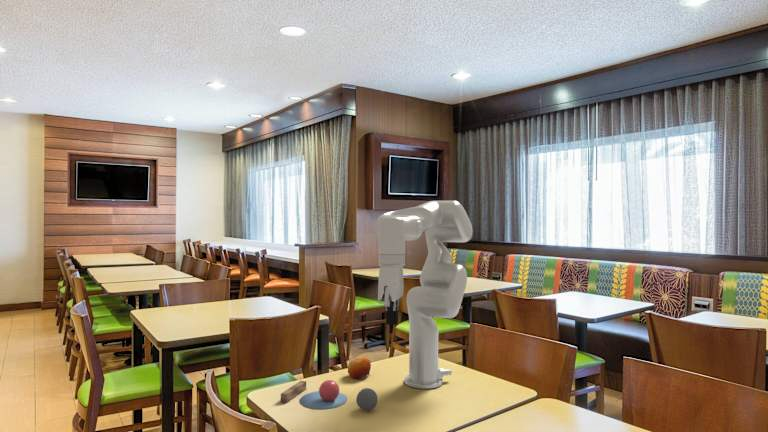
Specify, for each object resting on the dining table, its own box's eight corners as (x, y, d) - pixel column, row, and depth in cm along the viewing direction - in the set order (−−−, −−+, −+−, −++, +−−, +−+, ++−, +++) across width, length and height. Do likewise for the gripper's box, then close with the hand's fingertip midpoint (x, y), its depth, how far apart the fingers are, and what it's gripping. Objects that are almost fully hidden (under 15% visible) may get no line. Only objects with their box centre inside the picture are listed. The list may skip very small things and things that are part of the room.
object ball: (337, 376, 148) (329, 393, 149) (320, 374, 145) (312, 392, 146) (345, 389, 143) (337, 406, 144) (328, 387, 140) (320, 405, 141)
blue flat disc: (339, 389, 154) (339, 388, 154) (353, 405, 141) (353, 404, 141) (295, 394, 149) (295, 394, 149) (305, 411, 136) (305, 411, 136)
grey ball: (368, 380, 140) (363, 393, 143) (355, 391, 135) (349, 405, 138) (384, 393, 137) (378, 407, 140) (371, 405, 133) (365, 419, 136)
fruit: (373, 377, 161) (361, 356, 162) (353, 388, 162) (341, 366, 163) (378, 370, 169) (367, 349, 170) (359, 380, 170) (348, 360, 171)
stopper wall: (300, 388, 154) (300, 380, 154) (306, 389, 154) (306, 381, 154) (280, 402, 143) (280, 393, 143) (286, 403, 142) (286, 394, 142)
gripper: (387, 256, 147) (388, 317, 147) (370, 262, 133) (370, 329, 133) (411, 257, 144) (412, 319, 145) (396, 263, 130) (397, 331, 131)
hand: (392, 324), depth 139 cm, fingers closed
